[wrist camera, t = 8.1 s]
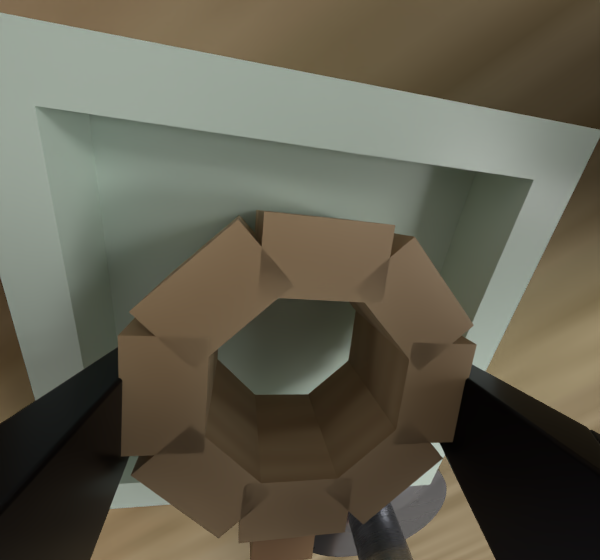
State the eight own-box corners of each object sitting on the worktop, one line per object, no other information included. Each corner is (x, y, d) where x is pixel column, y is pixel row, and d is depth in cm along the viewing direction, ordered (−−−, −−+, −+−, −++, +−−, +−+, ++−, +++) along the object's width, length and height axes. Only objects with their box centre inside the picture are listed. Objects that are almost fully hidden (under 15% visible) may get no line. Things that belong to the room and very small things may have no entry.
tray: (513, 129, 9) (603, 129, 7) (400, 427, 14) (430, 484, 12) (31, 42, 7) (-79, -3, 4) (101, 437, 12) (67, 511, 10)
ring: (416, 226, 9) (502, 235, 6) (371, 477, 11) (421, 580, 8) (164, 200, 8) (114, 195, 5) (160, 490, 10) (123, 621, 7)
